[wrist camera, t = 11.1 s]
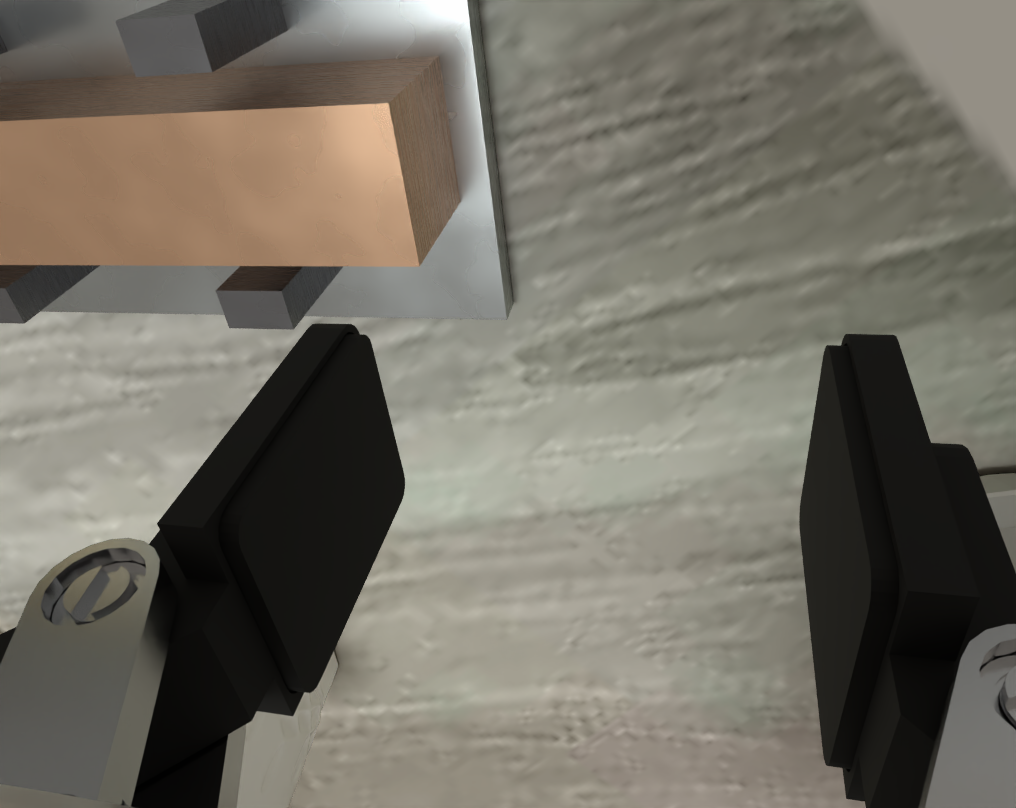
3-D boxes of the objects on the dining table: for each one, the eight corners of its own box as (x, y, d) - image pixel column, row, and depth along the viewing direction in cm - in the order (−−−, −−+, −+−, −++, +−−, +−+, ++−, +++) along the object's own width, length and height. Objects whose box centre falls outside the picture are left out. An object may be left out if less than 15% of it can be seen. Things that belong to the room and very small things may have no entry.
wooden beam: (438, 53, 20) (386, 102, 17) (460, 203, 23) (418, 270, 20) (-111, 87, 24) (-234, 131, 21) (-43, 211, 27) (-144, 267, 24)
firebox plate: (460, -141, 19) (392, -122, 15) (513, 303, 26) (476, 394, 22) (-289, -48, 24) (-482, -17, 20) (-75, 296, 31) (-187, 367, 27)
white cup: (264, 578, 38) (148, 777, 30) (379, 667, 41) (299, 871, 33) (182, 623, 42) (62, 808, 35) (291, 702, 45) (202, 890, 37)
